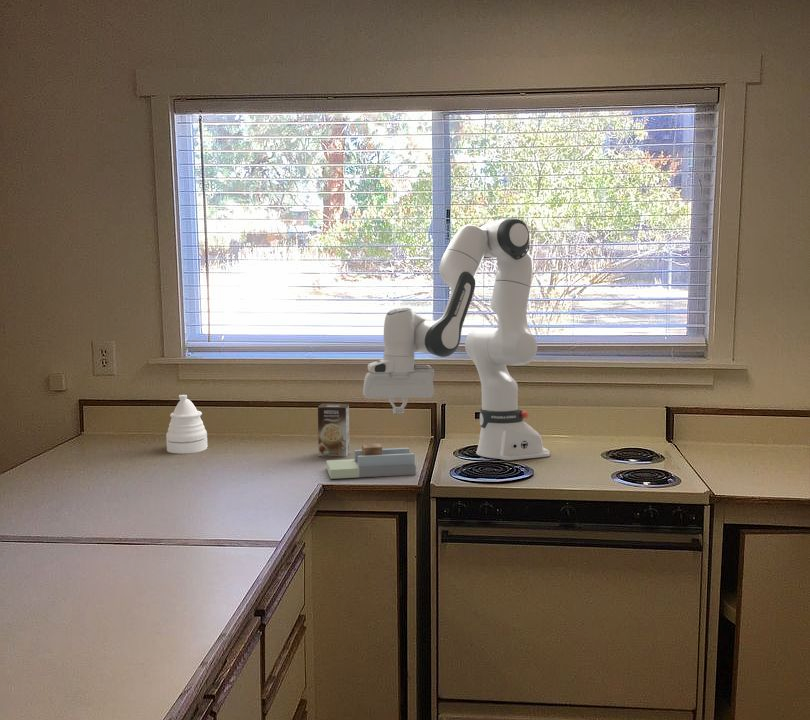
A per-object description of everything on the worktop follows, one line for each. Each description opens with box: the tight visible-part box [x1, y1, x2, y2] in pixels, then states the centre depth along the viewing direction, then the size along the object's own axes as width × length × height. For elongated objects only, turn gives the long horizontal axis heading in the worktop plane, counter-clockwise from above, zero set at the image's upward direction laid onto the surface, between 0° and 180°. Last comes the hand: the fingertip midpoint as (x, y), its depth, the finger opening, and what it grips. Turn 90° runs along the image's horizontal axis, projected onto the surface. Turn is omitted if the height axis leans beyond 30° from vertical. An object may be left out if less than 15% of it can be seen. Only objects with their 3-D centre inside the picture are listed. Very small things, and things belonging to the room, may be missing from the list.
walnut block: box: [361, 443, 383, 456], centre depth 225 cm, size 5×5×5 cm
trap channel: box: [325, 447, 417, 480], centre depth 225 cm, size 24×12×6 cm, turn 101°
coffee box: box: [317, 403, 350, 458], centre depth 245 cm, size 9×6×16 cm
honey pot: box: [165, 394, 209, 455], centre depth 256 cm, size 13×13×18 cm
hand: (398, 413), depth 225 cm, fingers closed
